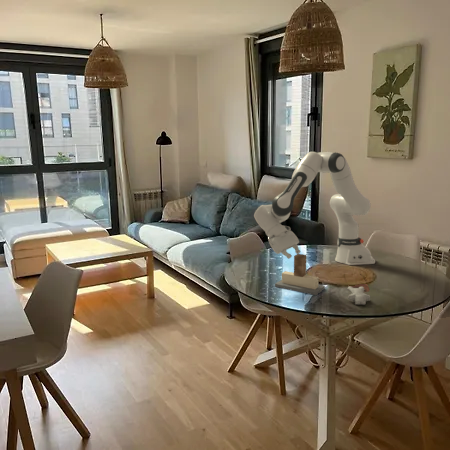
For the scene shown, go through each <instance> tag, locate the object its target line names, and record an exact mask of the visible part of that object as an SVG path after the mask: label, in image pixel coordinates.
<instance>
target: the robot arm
mask: <svg viewBox="0 0 450 450" xmlns="http://www.w3.org/2000/svg"><path fill="white" fill-rule="evenodd" d="M318 173H322V174H327V173H329V174H330V178H331V182H332V186H333V189H334V190H335V192H336V193H335V194H333V195H332V196H331V198H330V200H329V207H330V209H331V210H332V211H333V212H334V214H335V217H336V218H337V222H338V235H337V244H336V245H337V250H336V255H335V258H334V260H335V261H336V262H338V263H341V264H345V265H349V266H357V265H359V266H360V265H374V264H375V263H376V260H375V258H374V257H373V256H372V252H371V251H370V249H369V248H368V247H366V246H365V245H364V239H363V238H361V237H359V223H358V222H357V220H356V219H355V218H354V216H366V215H368V213H369V212H370V210H371V208H372V207H371V205H372V204H371V201H370V199H369V198H368V197H366V196H365V195H364V194H363V193H361V191H360V190H359V188H358V187H357V185H356V183H355V181H354V177H353V174H352V171H351V168H350V165H349V163H348V161H347V159H346V157H344V155H343V154H341V153H340V152H336V151H335V152H332V151H321V152H320V151H319V152H318V151H317V152H316V151H309V152H307V153H306V154H305V155H304V156H303V157H302V158H301V159H300V161H299V162H298V164H297V165H296V167H295V169H294V171H293V173H292V174H291V175H292V176H291V179H290V181H289V183H288V184H287V186H286V187H285V189H284V190H283V192H281V193H279V194H278V195H276V196H275V197H274V198H273V200H272V203H271V204H260V205H259V206H258V207H257V208H256V209H255V210H254V213H253V217H254V219H255V221H256V223H257V224H258V226H259V227H260V228H261V229H262V230H263V231H264V232H265V235H266V236H267V240H268V243H269V245H270V247H271V248H272V250H273V251H274V253H275V254H276V255H279V254H282V255H283V256H285V257H286V258H287V259H291V258H292V257H293V255H292V254H291V253H289V252H288V251H287V250H289V249H292V248H293V249H294V250H295V255H297V254H301V250H300V248H299V243H300V241H299V238H298V237H297V235H296V234H295V233H294V232H293V231H292V230H291V229H292V228H291V227H290V226H287V225H282V223H283V222H285V221H286V220H288V219H289V217H290V216H291V212H292V211H293V208H294V201H295V198H296V197H297V196H298V193H299V192H300V190H301V189H302V188H305V187H309V185H310V184H312V182H313V181H314V180H315V178H316V177H317V175H318ZM353 215H354V216H353Z"/></svg>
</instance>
